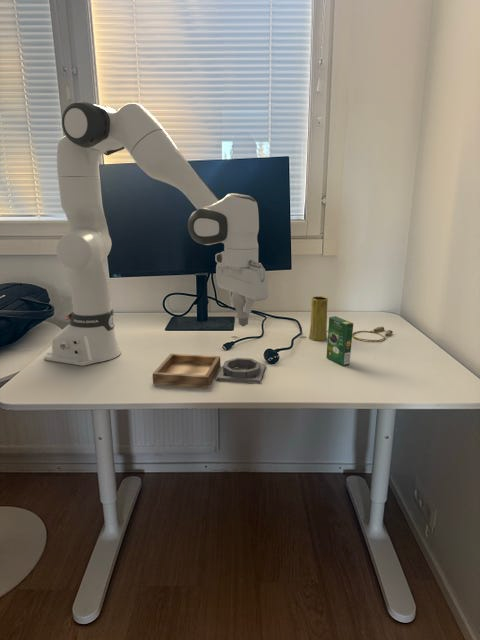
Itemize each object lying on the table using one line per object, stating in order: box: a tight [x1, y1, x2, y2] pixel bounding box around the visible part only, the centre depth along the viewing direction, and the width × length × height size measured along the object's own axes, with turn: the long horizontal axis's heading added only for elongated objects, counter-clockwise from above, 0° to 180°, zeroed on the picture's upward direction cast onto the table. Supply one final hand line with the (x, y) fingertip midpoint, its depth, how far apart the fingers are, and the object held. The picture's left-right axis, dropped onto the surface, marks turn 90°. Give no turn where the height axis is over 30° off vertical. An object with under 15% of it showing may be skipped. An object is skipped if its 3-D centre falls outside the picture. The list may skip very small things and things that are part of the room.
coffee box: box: [326, 316, 354, 367], centre depth 129 cm, size 8×3×13 cm, turn 28°
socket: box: [215, 357, 267, 384], centre depth 123 cm, size 12×12×2 cm
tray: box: [152, 353, 221, 389], centre depth 122 cm, size 15×15×3 cm
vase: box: [308, 295, 329, 342], centre depth 150 cm, size 6×6×14 cm
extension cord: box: [352, 326, 393, 343], centre depth 154 cm, size 12×16×2 cm
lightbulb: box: [230, 291, 250, 327], centre depth 118 cm, size 6×6×11 cm
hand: (240, 309), depth 118 cm, fingers closed on lightbulb, 4 cm apart
